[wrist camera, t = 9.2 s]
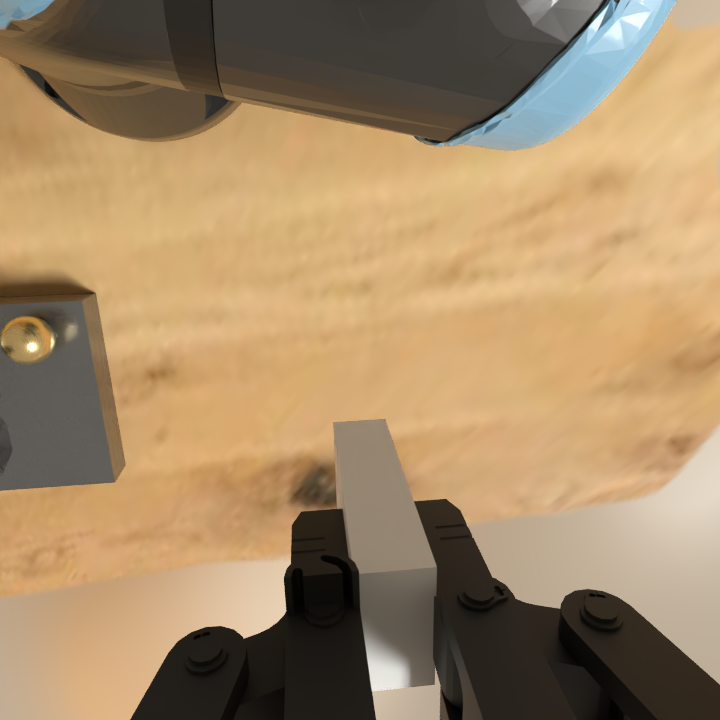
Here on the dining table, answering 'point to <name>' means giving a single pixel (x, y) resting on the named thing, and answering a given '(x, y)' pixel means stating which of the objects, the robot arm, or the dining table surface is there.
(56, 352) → the plate
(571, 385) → the dining table surface
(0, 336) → the brass ball
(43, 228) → the dining table surface
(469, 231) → the dining table surface
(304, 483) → the dining table surface
